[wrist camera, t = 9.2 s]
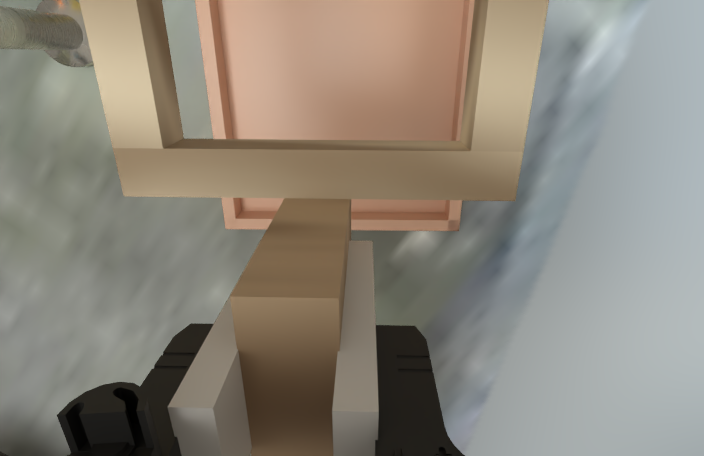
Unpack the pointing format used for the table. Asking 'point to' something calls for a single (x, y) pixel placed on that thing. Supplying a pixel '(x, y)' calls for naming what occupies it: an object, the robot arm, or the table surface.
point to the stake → (48, 31)
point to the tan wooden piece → (307, 194)
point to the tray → (338, 85)
